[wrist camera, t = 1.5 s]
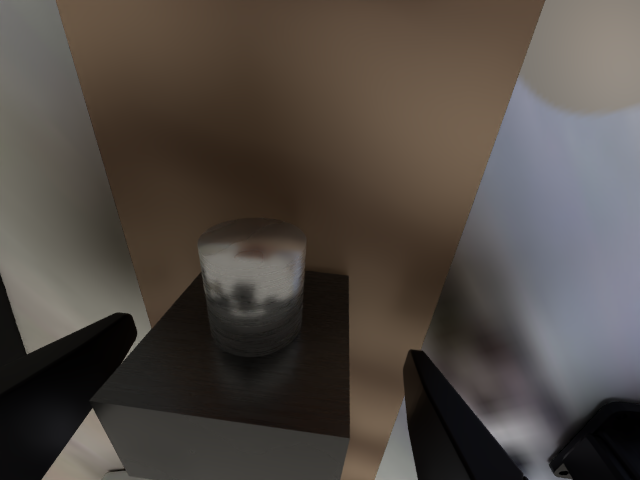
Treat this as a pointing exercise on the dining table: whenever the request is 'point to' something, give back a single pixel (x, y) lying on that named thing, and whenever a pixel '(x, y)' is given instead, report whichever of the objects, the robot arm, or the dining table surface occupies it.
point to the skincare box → (120, 476)
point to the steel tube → (239, 368)
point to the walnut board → (305, 147)
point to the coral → (8, 331)
